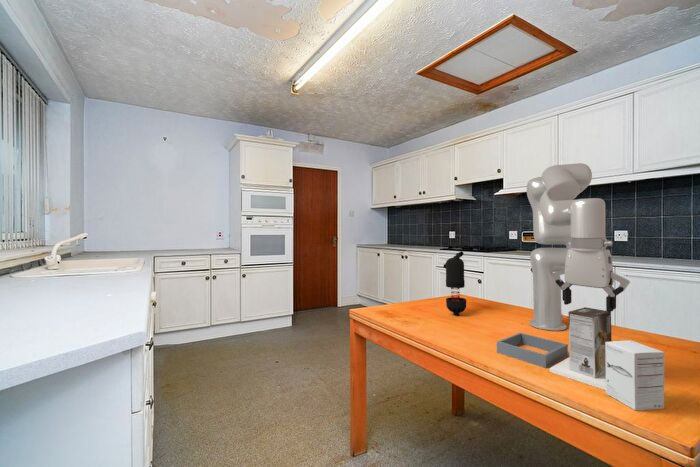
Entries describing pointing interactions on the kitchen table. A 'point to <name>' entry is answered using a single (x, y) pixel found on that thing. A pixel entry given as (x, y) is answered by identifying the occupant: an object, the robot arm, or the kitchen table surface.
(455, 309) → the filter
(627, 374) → the supplement box
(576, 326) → the coffee box
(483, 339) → the kitchen table surface
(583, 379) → the mat
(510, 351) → the packet holder
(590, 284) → the robot arm
